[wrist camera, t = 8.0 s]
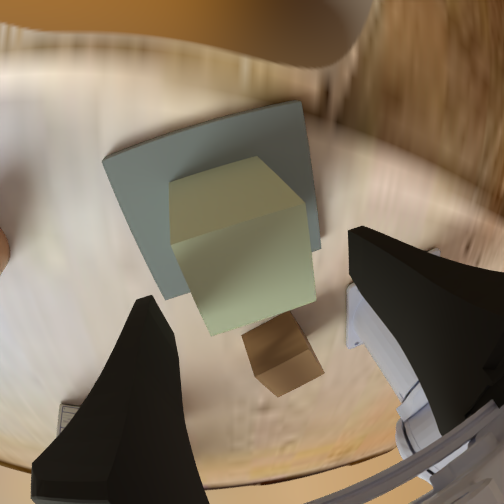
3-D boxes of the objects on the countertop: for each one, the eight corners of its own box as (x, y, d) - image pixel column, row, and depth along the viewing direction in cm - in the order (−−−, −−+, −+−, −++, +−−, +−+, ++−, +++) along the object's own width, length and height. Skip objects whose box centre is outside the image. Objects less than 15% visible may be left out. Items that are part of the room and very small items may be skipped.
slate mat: (295, 100, 14) (301, 101, 14) (316, 242, 20) (321, 248, 19) (104, 157, 14) (101, 161, 13) (164, 291, 19) (165, 300, 18)
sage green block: (256, 155, 15) (305, 202, 10) (272, 231, 17) (316, 300, 12) (168, 182, 14) (170, 245, 10) (195, 256, 17) (211, 336, 12)
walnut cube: (288, 308, 22) (308, 348, 19) (305, 336, 25) (324, 373, 21) (241, 334, 23) (254, 376, 19) (263, 358, 25) (277, 397, 22)
